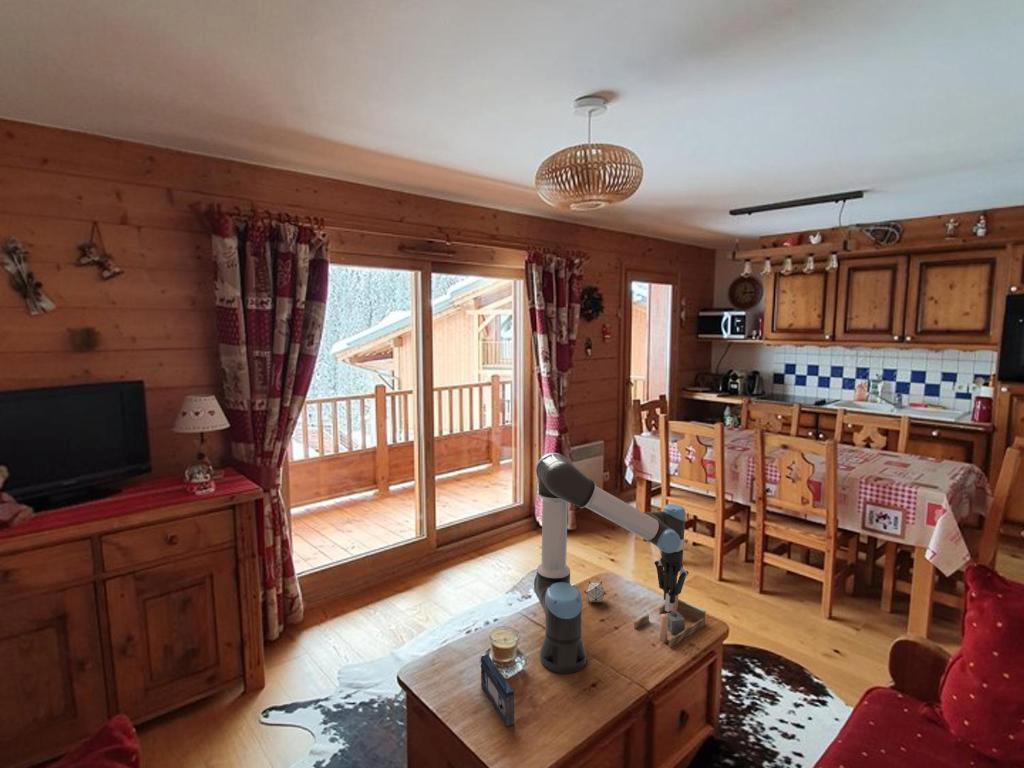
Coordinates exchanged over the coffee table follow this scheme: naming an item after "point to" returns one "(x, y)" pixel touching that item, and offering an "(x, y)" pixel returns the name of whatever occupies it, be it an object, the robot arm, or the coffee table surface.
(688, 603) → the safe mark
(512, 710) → the vhs cassette tape
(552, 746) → the coffee table surface
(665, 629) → the pin near
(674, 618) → the dice cube
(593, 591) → the game die
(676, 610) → the pin far
